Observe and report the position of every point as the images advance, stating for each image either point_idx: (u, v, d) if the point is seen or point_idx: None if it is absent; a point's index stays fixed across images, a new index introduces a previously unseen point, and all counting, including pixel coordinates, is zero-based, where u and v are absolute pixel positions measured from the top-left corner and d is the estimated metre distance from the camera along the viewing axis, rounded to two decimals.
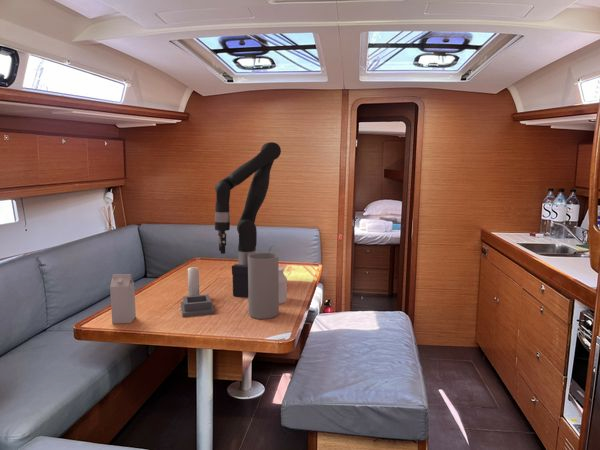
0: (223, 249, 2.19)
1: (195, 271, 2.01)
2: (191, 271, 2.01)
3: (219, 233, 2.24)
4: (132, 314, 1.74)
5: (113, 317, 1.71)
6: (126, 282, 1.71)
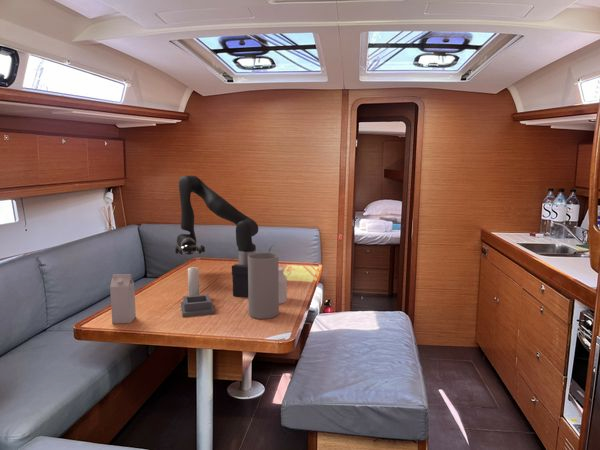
0: (179, 251, 2.13)
1: (195, 271, 2.01)
2: (191, 271, 2.01)
3: None
4: (132, 314, 1.74)
5: (113, 317, 1.71)
6: (126, 282, 1.71)
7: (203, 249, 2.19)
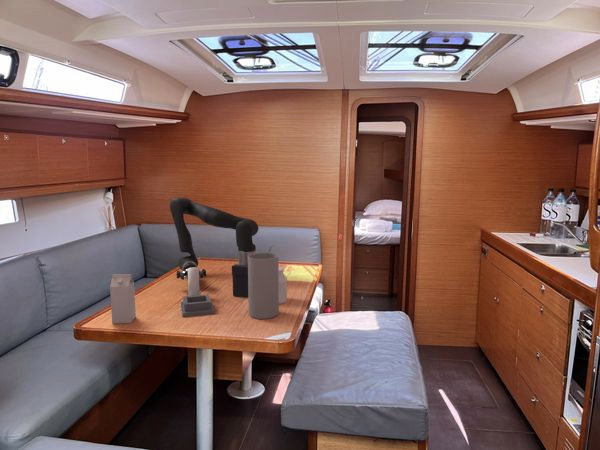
0: (180, 276, 2.11)
1: (195, 271, 2.01)
2: (191, 271, 2.01)
3: None
4: (132, 314, 1.74)
5: (113, 317, 1.71)
6: (126, 282, 1.71)
7: (204, 273, 2.17)
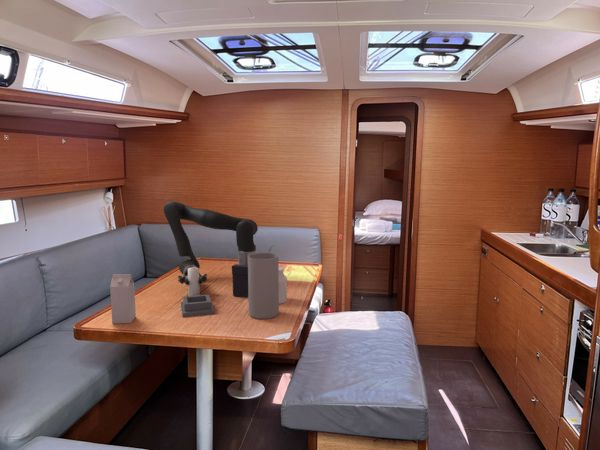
0: (185, 281, 2.02)
1: (195, 271, 2.01)
2: (191, 271, 2.01)
3: None
4: (132, 314, 1.74)
5: (113, 317, 1.71)
6: (126, 282, 1.71)
7: (203, 279, 2.07)
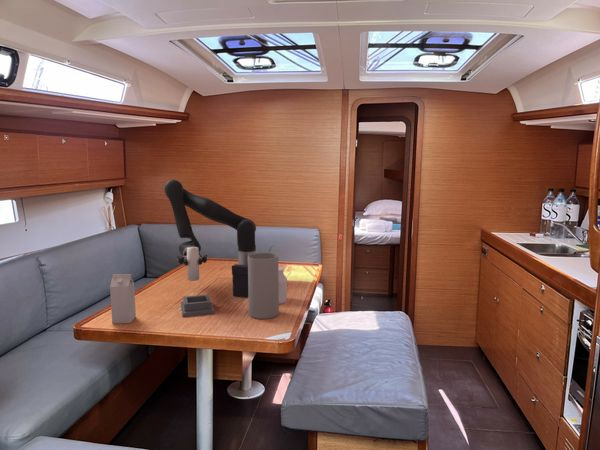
0: (184, 261, 1.89)
1: (195, 250, 1.88)
2: (190, 250, 1.87)
3: None
4: (132, 314, 1.74)
5: (113, 317, 1.71)
6: (126, 282, 1.71)
7: (203, 259, 1.94)
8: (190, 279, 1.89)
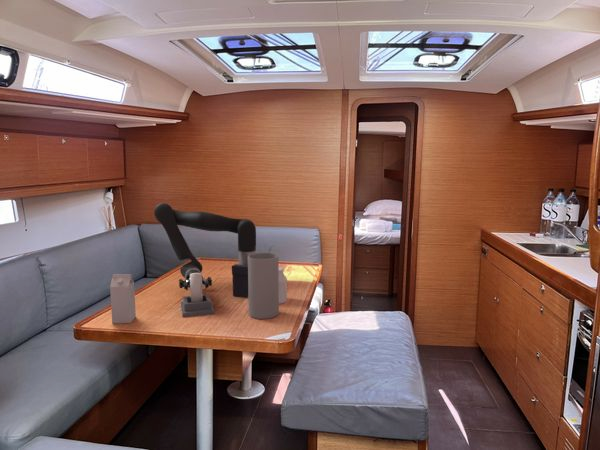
0: (184, 286, 1.86)
1: (198, 277, 1.85)
2: (193, 277, 1.85)
3: None
4: (132, 314, 1.74)
5: (113, 317, 1.71)
6: (126, 282, 1.71)
7: (210, 282, 1.92)
8: None
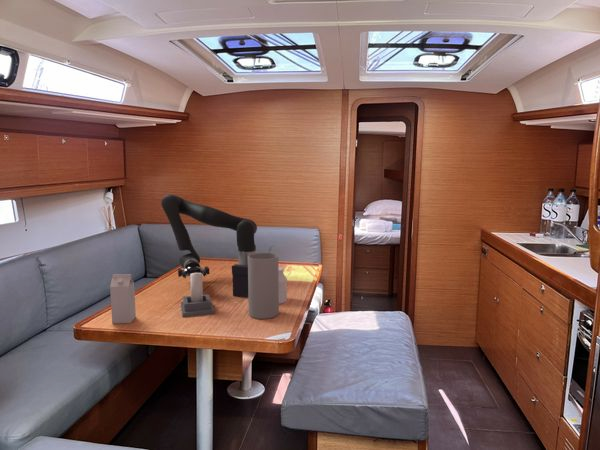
0: (182, 274, 1.99)
1: (198, 277, 1.85)
2: (194, 277, 1.85)
3: None
4: (132, 314, 1.74)
5: (113, 317, 1.71)
6: (126, 282, 1.71)
7: (208, 271, 2.05)
8: None
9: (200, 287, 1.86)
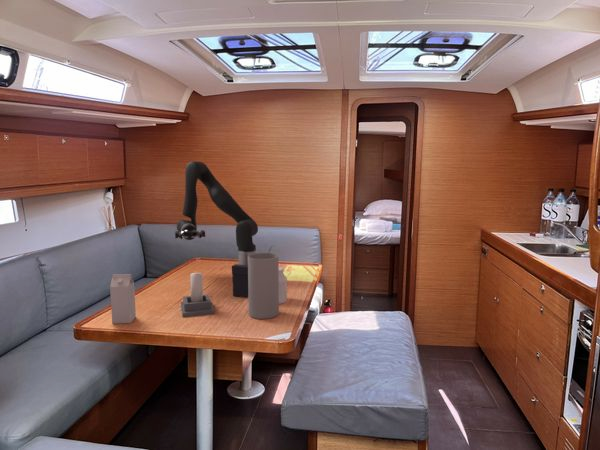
0: (179, 236, 2.08)
1: (198, 277, 1.85)
2: (194, 277, 1.84)
3: None
4: (132, 314, 1.74)
5: (113, 317, 1.71)
6: (126, 282, 1.71)
7: (203, 234, 2.14)
8: None
9: (200, 287, 1.86)
